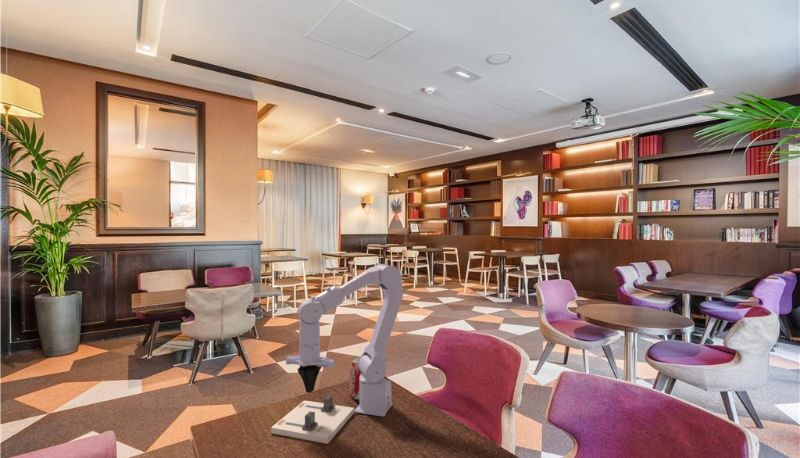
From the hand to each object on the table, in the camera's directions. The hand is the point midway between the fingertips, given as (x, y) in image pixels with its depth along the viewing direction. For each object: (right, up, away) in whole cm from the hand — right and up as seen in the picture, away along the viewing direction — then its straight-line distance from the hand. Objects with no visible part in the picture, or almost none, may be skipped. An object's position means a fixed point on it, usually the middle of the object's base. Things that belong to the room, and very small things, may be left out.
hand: (310, 391), depth 99 cm
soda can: (+13, -9, +15) cm, 22 cm away
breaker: (+4, -7, +4) cm, 9 cm away
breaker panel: (+1, -9, 0) cm, 9 cm away
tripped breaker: (+1, -7, -6) cm, 9 cm away
